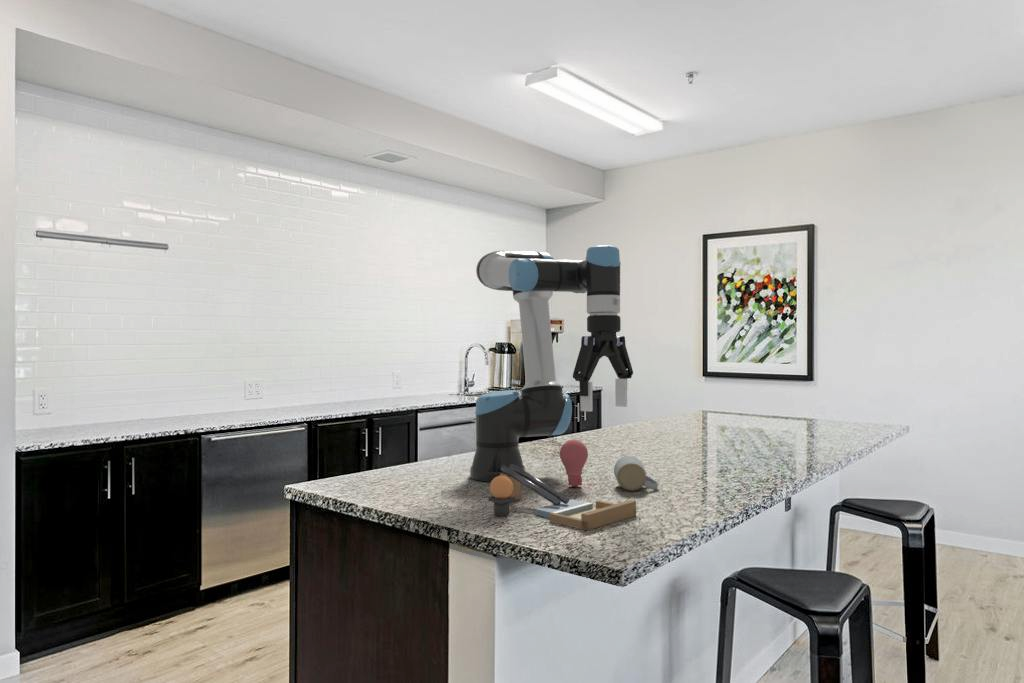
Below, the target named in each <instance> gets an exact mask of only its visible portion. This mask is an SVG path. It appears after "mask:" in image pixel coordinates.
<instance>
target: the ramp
mask: <svg viewBox="0 0 1024 683" xmlns="http://www.w3.org/2000/svg"><path fill="white" fill-rule="evenodd" d="M501 470H502V471H503V472H504V473H500V476H506V477H508V478H509V479H510V480H511V481H512V483H513V492H512V494H511V495H510V496H513V497H515V501H519V500H522V485H523V486H525V487H526V488H528V489H530V490H531V491H533V492H534V493H535V494H537V495H538V496H540V497H542V498H544V499H545V500H547V501H548V502H550V503H551V504H554V505H556V506H559V505H560V503H561V502H563V503H565V504H567V503H568V502H569V500H570V498H569V497H567V496H565V495H564V494H563V493H560V492H559V491H558V490H556V489H554V488H553V487H552V486H550V485H548V484H546V482H544V481H541V479H538V478H537V477H536V476H534V475H533V474H530V472H528V471H526V470H525V471H524V470H523V469H521V468H519V467H518V466H516V465H515V464H513V463H512V464H511V465H510V466H509V468H508V467H507V466H505V465H502V467H501ZM515 501H514V502H515Z"/></svg>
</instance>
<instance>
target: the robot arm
mask: <svg viewBox="0 0 1024 683" xmlns="http://www.w3.org/2000/svg"><path fill="white" fill-rule="evenodd" d="M621 265H622V264H621V257H620V249H619V248H618V247H617V246H615V245H595V246H594V245H593V246H589V247H588V248H587V250H586V256H585V259H583V260H576V259H575V260H573V259H554V257H553V256H552V255H551V254H549V253H548V252H541V251H537V250H535V251H524V250H523V251H520V250H496V251H492V252H489V253H487V254H484V255H483V256H482V257H481V258H480V259H479V260H478V262H477V265H476V270H475V272H476V277H477V279H478V281H479V282H480V283H481V284H482V285H483V286H484V287H486V288H489V289H491V290H497V291H505V292H509V291H510V292H512V298H513V300H514V301H515V302H517V303H518V307H519V319H520V332H521V340H522V352H523V353H522V354H523V366H524V376H525V377H524V378H525V384H524V386H523V387H522V388H521V390H520V392H521V394H519V392H518V390H516V389H515V390H514V389H507V390H498V391H492V392H488V393H483V394H481V395H479V396H478V397H477V398H476V403H475V434H476V435H475V437H476V439H475V442H476V445H475V446H476V448H475V452H474V456H473V461H472V464H471V465H470V469H469V470H470V471H469V477H470V478H471V479H473V480H476V481H481V482H490V483H491V481H492V480H493V479H494V478H495V477H497V476H500V473H504V472H503V471H502V470H501V467H502V465H505V466H507V467H508V468H509V466H510V465H511V464H512V463H513V464H515V465H516V466H518V467H519V468H521V469H523V470H524V471H526V467H525V465H524V463H523V459H522V455H521V452H520V449H519V440H520V438H528V437H529V438H531V437H545V436H547V437H552V436H557V435H562V434H564V433H565V432H566V431H567V430H568V428H569V426H570V423H571V420H572V415H573V414H572V413H573V405H572V399H571V396H570V395H569V394H568V393H565V392H563V386H562V385H561V384H560V382H558V381H557V379H556V376H557V375H556V368H555V359H554V356H555V355H554V349H553V348H554V347H553V336H552V325H551V316H550V315H551V314H550V308H549V306H550V305H549V300H550V299H551V298H552V297H553V292H559V293H560V292H561V293H562V292H565V293H567V292H568V293H575V294H586V313H587V314H589V315H588V316H587V318H586V331H587V332H588V333H590V334H591V335H585V336H584V335H583V336H581V342H580V344H581V345H580V349H579V351H578V356H577V359H576V363H575V366H574V369H573V373H572V378H573V379H574V380H575V381H576V382H579V396H580V398H579V399H580V401H579V402H580V411H581V412H588V413H589V412H593V409H594V408H593V381H591V379H592V375H593V374H594V372H595V370H596V368H597V365H598V363H599V361H600V359H602V358H603V357H606V358H607V359H608V360H609V362H610V364H611V366H612V368H613V370H614V372H615V374H616V376H617V378H615V379H614V380H615V381H614V382H615V383H614V384H615V407H620V408H622V407H623V408H624V407H625V408H628V379H632V377H633V374H634V370H633V366H632V363H631V360H630V356H629V353H628V350H627V349H628V348H627V346H626V336H624V335H620V336H619V335H618V336H617V333H619V332H621V325H622V324H621V316H620V315H619V314H620V313H621Z"/></svg>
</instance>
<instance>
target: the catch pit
mask: <svg viewBox="0 0 1024 683" xmlns="http://www.w3.org/2000/svg"><path fill="white" fill-rule="evenodd" d="M633 517H637V500H633V499H632V500H631V499H629V500H626V501H622V502H617V503H612V502H608V501H604V500H603V501H602V500H600V499H598V500H595V507H593V508H592V509H589V510H585V511H582V512H578V513H575V514H571V515H567V516H565V515H561V514H556V513H550V518H549V522H550V523H554V524H558V525H562V524H563V525H564V526H566V527H571V528H575V529H578V530H584V531H587V532H588V531H591V530H595V529H598V528H601V527H604V526H607V525H610V524H613V523H616V522H620V521H623V520H626V519H629V518H633Z"/></svg>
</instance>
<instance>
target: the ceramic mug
mask: <svg viewBox="0 0 1024 683" xmlns="http://www.w3.org/2000/svg"><path fill="white" fill-rule="evenodd" d="M613 475H614V477H615V479H616V481H617V483H618V485H619V486H620V488H622V489H623V490H626V491H629V492H636V491H638V490H641V488H642V487H646V488H648V489H650V490H652V491H653V490H655V491H656V490H657V489H658V487H659V482H657V481H656V480H655V479H653V478H652V477H650V476H648V475H647V473H646V470H645V467H644V465H643V462H642V461H641V460H640V459H638V458H637V457H635V456H633V455H624V456H622V457H620V458H618V459H617V461H616V462H615V463H614V468H613Z"/></svg>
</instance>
